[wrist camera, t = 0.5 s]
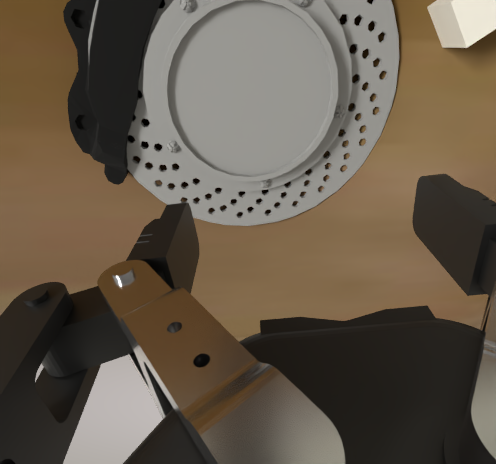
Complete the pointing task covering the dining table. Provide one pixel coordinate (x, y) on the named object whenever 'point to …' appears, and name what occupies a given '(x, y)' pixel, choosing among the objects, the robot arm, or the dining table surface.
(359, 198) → the dining table surface
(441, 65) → the dining table surface
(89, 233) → the dining table surface
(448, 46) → the cream rectangular bar
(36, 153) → the dining table surface
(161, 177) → the brake disc
